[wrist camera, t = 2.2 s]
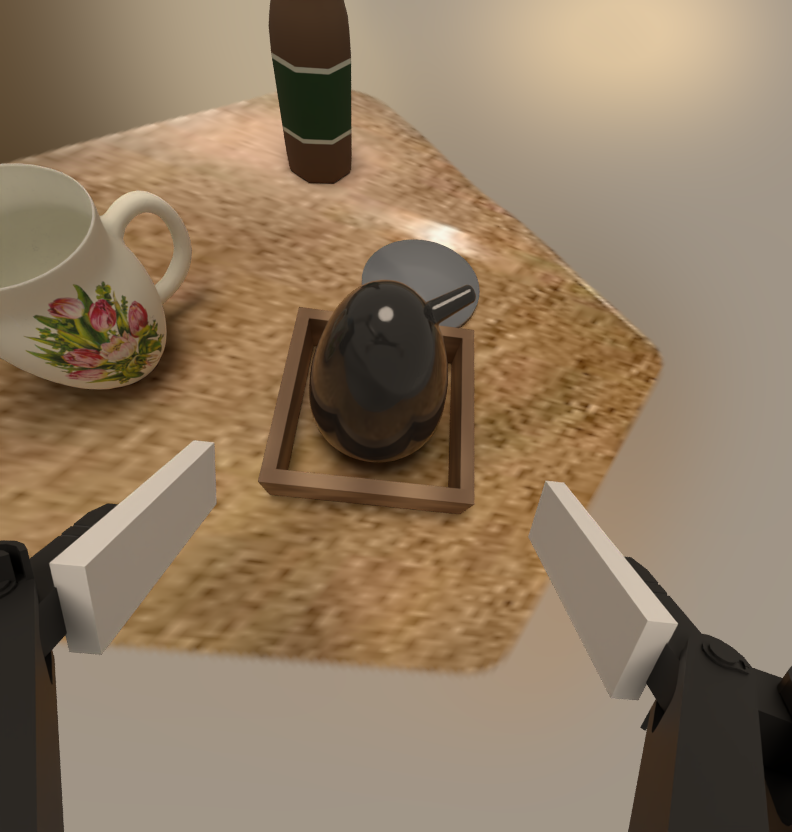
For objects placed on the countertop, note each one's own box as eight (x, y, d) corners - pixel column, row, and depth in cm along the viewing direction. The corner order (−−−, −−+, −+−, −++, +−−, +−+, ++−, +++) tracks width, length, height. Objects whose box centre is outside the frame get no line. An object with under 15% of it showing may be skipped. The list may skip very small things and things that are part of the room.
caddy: (269, 494, 30) (257, 481, 26) (304, 335, 36) (299, 306, 32) (459, 514, 31) (474, 504, 27) (462, 355, 37) (474, 330, 33)
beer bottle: (336, 138, 48) (322, -234, 26) (364, 177, 46) (374, -197, 24) (277, 151, 46) (208, -241, 24) (302, 192, 44) (251, -202, 22)
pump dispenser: (454, 451, 33) (527, 352, 19) (336, 493, 30) (322, 415, 17) (408, 354, 36) (442, 211, 22) (300, 385, 34) (263, 246, 20)
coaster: (354, 328, 37) (354, 323, 36) (368, 238, 42) (368, 232, 41) (477, 344, 38) (479, 339, 37) (476, 254, 42) (479, 248, 42)
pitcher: (253, 321, 36) (200, 180, 24) (73, 461, 29) (-135, 367, 17) (175, 258, 38) (88, 98, 26) (-10, 376, 31) (-252, 237, 19)
